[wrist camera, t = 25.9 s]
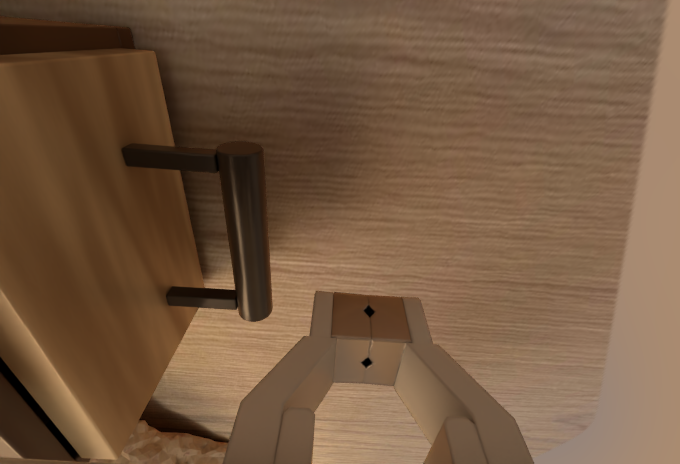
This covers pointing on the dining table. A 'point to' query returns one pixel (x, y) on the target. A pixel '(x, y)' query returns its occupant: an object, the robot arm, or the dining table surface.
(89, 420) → the drawer
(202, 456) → the tablet
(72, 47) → the cabinet
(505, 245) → the dining table surface
